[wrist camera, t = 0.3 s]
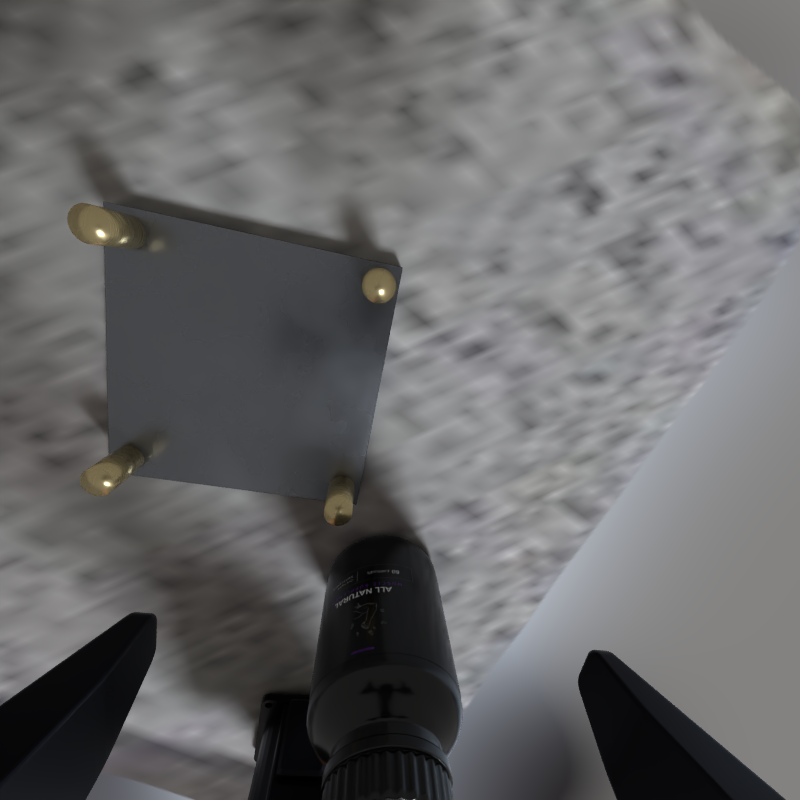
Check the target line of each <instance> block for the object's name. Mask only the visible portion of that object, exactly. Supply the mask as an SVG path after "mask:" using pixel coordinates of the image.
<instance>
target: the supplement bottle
mask: <svg viewBox="0 0 800 800" xmlns="http://www.w3.org/2000/svg"><path fill="white" fill-rule="evenodd" d="M462 718H463V709H462V702H461V695H460V689H459V685H458V680H457V675H456V670H455V665H454V660H453V655H452V650H451V645H450V640H449V635H448V631H447V626H446V621H445V616H444V611H443V606H442V601H441V596H440V591H439V587H438V582H437V578H436V573H435V570H434V567H433V564H432V562H431V560H430V559H429V557H428V556H427V555H426V553H425V552H424V551H423V550H422V549H420V548H419V547H418V546H416V545H415V544H413V543H412V542H410V541H407V540H405V539H402V538H398V537H393V536H375V537H370V538H366V539H363V540H360V541H358V542H356V543H354V544H352V545H351V546H349V547H348V548H347V549H345V550H344V551H343V552H342V553H341V554H340V555H339V556H338V557H337V559H336V560H335V562H334V563H333V565H332V567H331V570H330V573H329V577H328V582H327V587H326V593H325V599H324V606H323V612H322V618H321V625H320V631H319V638H318V644H317V650H316V657H315V663H314V670H313V676H312V682H311V689H310V695H309V702H308V710H307V732H308V737H309V741H310V743H311V746H312V749H313V751H314V753H315V755H316V757H317V758H318V759H319V761H320V762H321V764H322V765H323V766H324V767H325V768H324V771H323V777H322V786H321V797H322V800H453V795H452V784H453V782H452V774H451V768H450V763H449V760H448V758H447V757H448V756H449V754H450V753H451V751H452V750H453V748H454V746H455V744H456V742H457V739H458V737H459V733H460V730H461V725H462Z"/></svg>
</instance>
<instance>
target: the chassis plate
mask: <svg viewBox="0 0 800 800" xmlns="http://www.w3.org/2000/svg"><path fill="white" fill-rule="evenodd" d="M103 206H104V208H102V207H98V206H95V205H91V204H87V203H79V204H76V205H74V206H73V207H72V208H71V209H70V211H69V213H68V225H69V228H70V230H71V231H72V233H73V234H74V235H75V236H76V237H77V238H78V239H79V240H81V241H82V242H84V243H87V244H93V245H101V246H104V251H105V297H106V343H107V388H108V434H109V455H108V456H107V457H105V458H104V459H102V460H101V461H99V462H98V463H96V464H95V465H93V466H92V467H90V468H89V469H87V470H86V471H84V472H83V473H82V475H81V477H80V483H81V486H82V487H83V489H84V490H85V491H86V492H88V493H90V494H92V495H95V496H104V495H107V494H109V493H110V492H111V491H112V490H114V489H115V488H116V487H117V486H118V485H120V484H121V483H122V482H123V481H125V480H126V479H127V478H128V477H129V476H131V475H135V476H142V477H150V478H158V479H165V480H173V481H180V482H188V483H196V484H203V485H211V486H218V487H226V488H233V489H241V490H249V491H256V492H264V493H271V494H279V495H287V496H294V497H302V498H309V499H317V500H324V501H326V503H325V508H324V517H325V519H326V521H327V522H329V523H330V524H332V525H337V526H338V525H344V524H346V523H347V522H349V520H350V519H351V517H352V510H353V504H355V505H356V504H357V498H358V493H359V488H360V483H361V478H362V473H363V468H364V463H365V458H366V452H367V447H368V442H369V437H370V432H371V427H372V422H373V417H374V412H375V406H376V401H377V396H378V391H379V386H380V381H381V376H382V371H383V366H384V360H385V355H386V350H387V345H388V340H389V335H390V330H391V325H392V320H393V314H394V309H395V304H396V299H397V294H398V289H399V284H400V279H401V274H402V267H398V266H393V265H389V264H384V263H380V262H375V261H371V260H366V259H362V258H357V257H353V256H348V255H343V254H339V253H334V252H330V251H325V250H321V249H316V248H312V247H307V246H303V245H298V244H294V243H289V242H285V241H280V240H276V239H271V238H267V237H262V236H258V235H253V234H248V233H244V232H239V231H235V230H230V229H226V228H221V227H217V226H212V225H208V224H203V223H199V222H194V221H190V220H185V219H181V218H176V217H172V216H167V215H163V214H158V213H153V212H149V211H144V210H140V209H135V208H131V207H126V206H122V205H117V204H113V203H108V202H104V201H103Z"/></svg>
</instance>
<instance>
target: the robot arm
mask: <svg viewBox="0 0 800 800" xmlns="http://www.w3.org/2000/svg"><path fill="white" fill-rule="evenodd" d="M156 633H157V617H156V615H155V614H152V613H140V612H134V613H131V614H129V615H127V616H126V617H124V618H123V619H122V620H120V621H119V622H117V623H116V624H115V625H113V626H112V627H110V628H109V629H108V630H106V631H105V632H103V633H102V634H100V635H99V636H98V637H96V638H95V639H93V640H92V641H91V642H89V643H88V644H86V645H85V646H84V647H82V648H81V649H79V650H78V651H77V652H75V653H74V654H72V655H71V656H70V657H68V658H67V659H65V660H64V661H62V662H61V663H60V664H58V665H57V666H55V667H54V668H53V669H51V670H50V671H48V672H47V673H46V674H44V675H43V676H41V677H40V678H39V679H37V680H36V681H34V682H33V683H31V684H30V685H29V686H27V687H26V688H24V689H23V690H22V691H20V692H19V693H17V694H16V695H15V696H13V697H12V698H10V699H9V700H8V701H6V702H5V703H3V704H2V705H1V706H0V800H86V798H87V796H88V794H89V793H90V791H91V789H92V787H93V785H94V783H95V782H96V780H97V778H98V776H99V774H100V772H101V771H102V769H103V767H104V765H105V763H106V761H107V759H108V757H109V755H110V753H111V750H112V748H113V746H114V744H115V742H116V740H117V737H118V735H119V733H120V731H121V729H122V726H123V724H124V722H125V720H126V718H127V715H128V713H129V711H130V709H131V707H132V704H133V702H134V700H135V698H136V696H137V693H138V691H139V689H140V687H141V685H142V682H143V680H144V678H145V676H146V673H147V671H148V669H149V667H150V665H151V662H152V660H153V657H154V654H155V650H156ZM578 685H579V690H580V694H581V697H582V700H583V703H584V706H585V709H586V712H587V715H588V718H589V721H590V724H591V727H592V730H593V733H594V736H595V739H596V743H597V746H598V749H599V752H600V755H601V758H602V761H603V763H604V767H605V770H606V772H607V775H608V778H609V781H610V783H611V786H612V788H613V791H614V794H615V796H616V798H617V800H785V799H784V798H783V797H782V796H781V795H779V794H778V793H777V792H776V791H775V790H774V789H773V788H771V787H770V786H769V785H768V784H766V783H765V782H764V781H763V780H762V779H760V777H758V776H757V775H756V774H755V773H754V772H752V771H751V770H750V769H749V768H748V767H746V766H745V765H744V764H743V763H742V762H741V761H739V760H738V759H737V758H736V757H735V756H733V755H732V754H731V753H730V752H729V751H728V750H726V749H725V748H724V747H723V746H722V745H720V744H719V743H718V742H717V741H716V740H715V739H713V738H712V737H711V736H710V735H708V734H707V733H706V732H705V731H704V730H703V729H702V728H700V727H699V726H698V725H696V723H694V722H693V721H692V720H691V719H689V718H688V717H687V716H686V715H685V714H684V713H682V712H681V711H680V710H679V709H678V708H677V707H675V706H674V705H673V704H672V703H671V702H670V701H668V700H667V699H666V698H664V696H662V695H661V694H660V693H659V692H658V691H657V690H655V689H654V688H653V687H652V686H651V685H649V684H648V683H647V682H646V681H645V680H644V679H642V678H641V677H640V676H639V675H637V674H636V673H635V672H634V671H633V670H631V668H629V667H628V666H627V665H626V664H625V663H623V662H622V661H621V660H620V659H618V658H617V657H616V656H615V655H614V654H613V653H611V652H609V651H601V650H592V651H590V652H589V653H588V656H587V658H586V660H585V663H584V665H583V667H582V670H581V672H580V674H579V678H578ZM308 702H309V696H294V695H277V694H268V695H265V696H264V697H263V700H262V704H261V711H260V719H259V726H258V733H257V741H256V748H255V755H254V760H255V761H256V767H255V771H254V775H253V780H252V784H251V788H250V793H249V797H248V800H322V797H321V786H322V777H323V771H324V768H325V767H324V766H323V765H322V764H321V762H320V761H319V759H318V758H317V757H316V755H315V753H314V751H313V749H312V746H311V743H310V741H309V737H308V732H307V710H308Z"/></svg>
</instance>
